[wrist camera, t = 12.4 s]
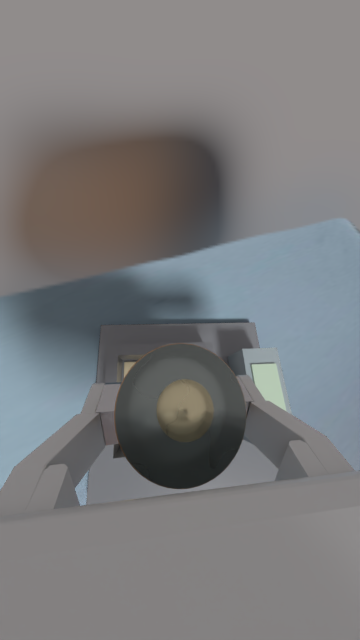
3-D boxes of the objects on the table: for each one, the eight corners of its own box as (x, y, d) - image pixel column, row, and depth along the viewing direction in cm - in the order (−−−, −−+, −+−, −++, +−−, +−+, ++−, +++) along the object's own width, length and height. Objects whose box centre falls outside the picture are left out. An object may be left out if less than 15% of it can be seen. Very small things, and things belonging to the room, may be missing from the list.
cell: (137, 436, 13) (103, 512, 5) (138, 372, 15) (113, 339, 6) (198, 430, 14) (270, 490, 5) (193, 369, 15) (243, 335, 7)
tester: (89, 501, 18) (65, 542, 13) (103, 327, 23) (89, 310, 18) (280, 477, 20) (320, 503, 15) (250, 325, 25) (273, 308, 21)
